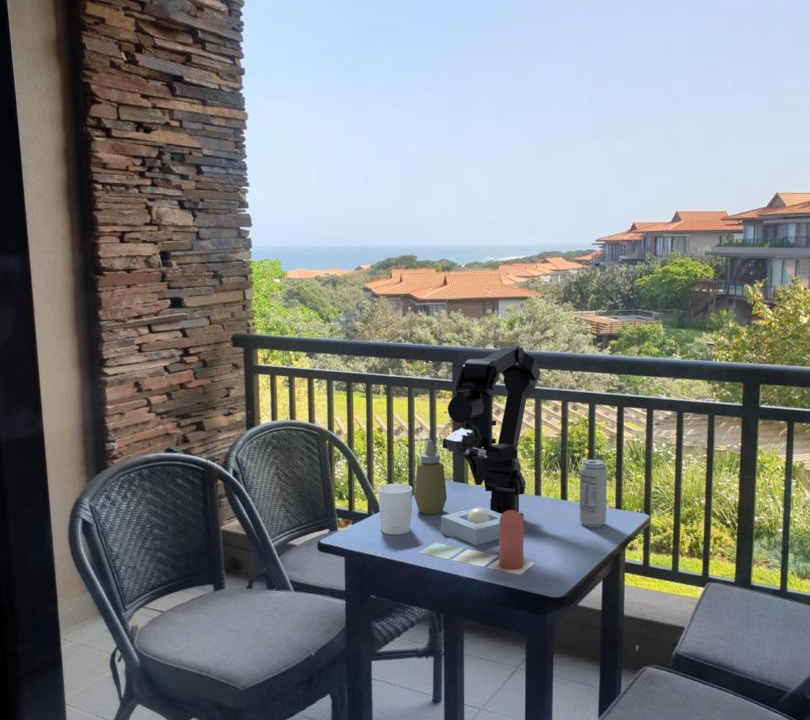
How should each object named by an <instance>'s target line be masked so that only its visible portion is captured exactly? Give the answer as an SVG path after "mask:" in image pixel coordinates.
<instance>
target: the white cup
mask: <svg viewBox="0 0 810 720" xmlns="http://www.w3.org/2000/svg"><path fill="white" fill-rule="evenodd" d="M377 491H378V493H377V494H378V507H379V508H378V509H379V518H380V530H381V532H382V533H384V534H386V535H390V536H391V535H392V536H393V535H395V536H398V535H400V536H401V535H405V534H408V533H409V532H410V531H411V523H412V522H411V521H412V520H411V519H412V510H413V509H412V508H413V487H412V486H411V485H408V484H406V483H405V484H404V483H387V484H383V485H381V486H379V487H378V488H377Z"/></svg>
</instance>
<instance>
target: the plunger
mask: <svg viewBox="0 0 810 720" xmlns="http://www.w3.org/2000/svg"><path fill="white" fill-rule="evenodd" d="M467 521H470V522H473V523H475V524H480V523H484V522H487V521H489V515H488V513H487V512H486V511H485V510H483V509H480V508H476V509H473V510H472V511H470V513H469V514H468V517H467Z"/></svg>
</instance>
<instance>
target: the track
mask: <svg viewBox="0 0 810 720" xmlns="http://www.w3.org/2000/svg"><path fill="white" fill-rule="evenodd" d="M463 550H464V551H463ZM462 551H463V552H462ZM460 552H461V554H459V555H457V554H458V553H460ZM418 554H422V555H426V556H430V557H434V558H440V559H443V560H449V559H452V557H454V556H456V555H457V556H456V557H454V558H453V559H452V561H454V562H459V563H464V564H467V565H471V566H472V565H473V566H475V567H476V566H477V567H480V568H481V567H482V568H484V567H486V566H487V565H488V564H489V563H491V562H492V561H493V560H495V559H496V558H498V559H497V560H495V561H494V562H493V563H491V564H490V565H489V566H488V567H486V568H487V569H492V570H496V571H501V572H504V573H511V574H514V575H518V576H521V575H522V574H524V573H525V572H526V571H527V570H529V569H530V568H531V567H532V566H533V565H535V562H532V561H527V560H523V567H522V568H520V569H516V570H509V569H504V568H502V567H500V566H499V554H492V553H490V552H488V553H487V552H483V551H478V550H474V549H469V548H468V549H465V548H463V547H458V546H453V545H450V544H443V543H439V542H435V541H432V542H431V544H430V545H429V546H427V547H426V548H423V549H422V550H421V551H418Z"/></svg>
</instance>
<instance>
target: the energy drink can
mask: <svg viewBox="0 0 810 720" xmlns="http://www.w3.org/2000/svg"><path fill="white" fill-rule="evenodd" d="M582 462H583V463H582V464H581V467H580V468H579V469H580V470H579V471H580V473H579V474H580V475H579V477H580V478H579V521H580V522H581V525H582V526H584V527H586V526H587V527H588V528H593V527H597V528H601V527H600V526H602V525H603V526H604V524H605V523H606V522H607V488H608V487H607V485H608V484H607V483H608V482H607V480H608V476H607V475H608V469H607V467H606V465H605V461H603V460H602V459H596V458H595V459H591V458H588V459H584V460H583V461H582ZM603 526H602V527H603ZM587 527H586V528H587Z"/></svg>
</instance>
